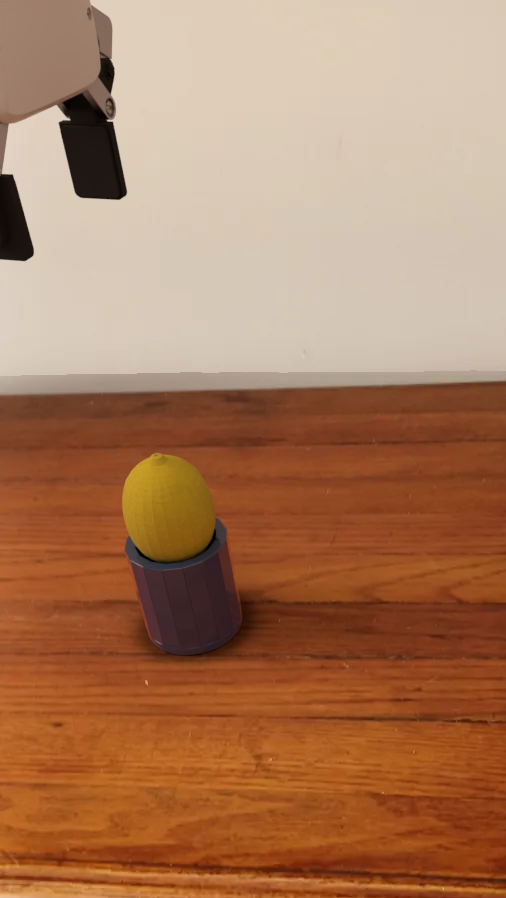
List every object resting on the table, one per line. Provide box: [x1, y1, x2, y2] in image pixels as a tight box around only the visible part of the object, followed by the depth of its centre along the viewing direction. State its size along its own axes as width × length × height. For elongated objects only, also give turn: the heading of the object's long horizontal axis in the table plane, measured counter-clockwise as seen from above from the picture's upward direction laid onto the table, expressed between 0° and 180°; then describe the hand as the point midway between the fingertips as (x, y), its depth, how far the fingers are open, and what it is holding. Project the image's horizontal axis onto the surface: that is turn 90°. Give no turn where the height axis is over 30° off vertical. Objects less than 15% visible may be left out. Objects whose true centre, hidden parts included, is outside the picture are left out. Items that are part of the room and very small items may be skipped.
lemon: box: [121, 452, 216, 564], centre depth 59 cm, size 6×6×8 cm
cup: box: [123, 516, 244, 656], centre depth 63 cm, size 6×6×7 cm
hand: (57, 225), depth 53 cm, fingers open, 9 cm apart
